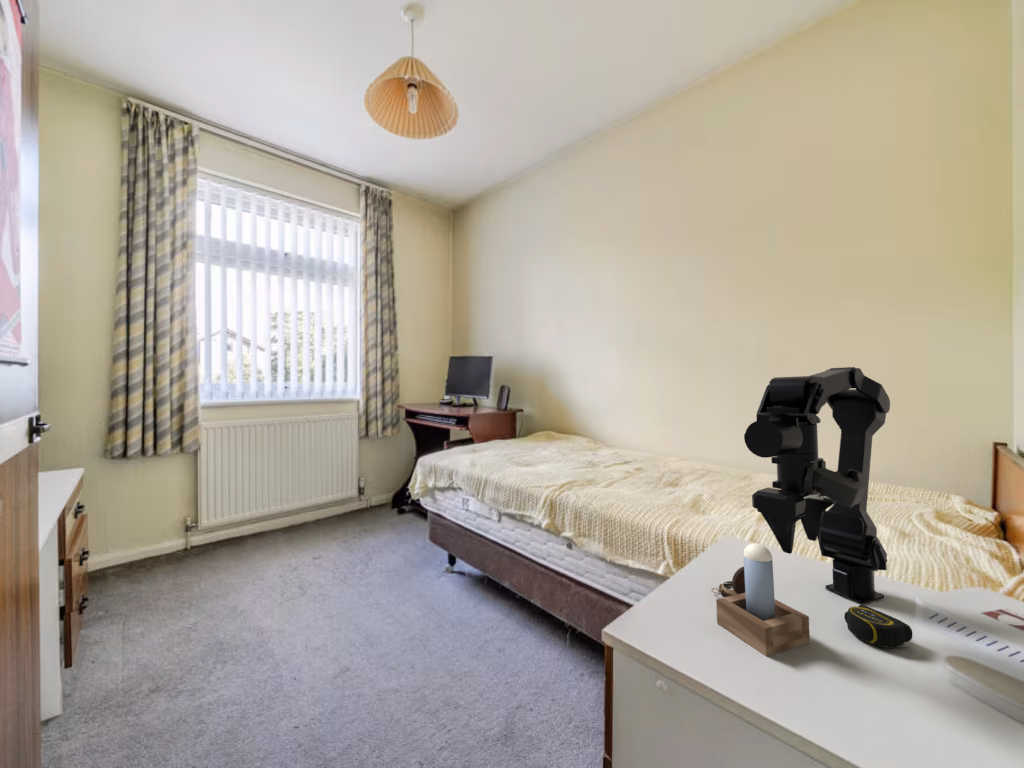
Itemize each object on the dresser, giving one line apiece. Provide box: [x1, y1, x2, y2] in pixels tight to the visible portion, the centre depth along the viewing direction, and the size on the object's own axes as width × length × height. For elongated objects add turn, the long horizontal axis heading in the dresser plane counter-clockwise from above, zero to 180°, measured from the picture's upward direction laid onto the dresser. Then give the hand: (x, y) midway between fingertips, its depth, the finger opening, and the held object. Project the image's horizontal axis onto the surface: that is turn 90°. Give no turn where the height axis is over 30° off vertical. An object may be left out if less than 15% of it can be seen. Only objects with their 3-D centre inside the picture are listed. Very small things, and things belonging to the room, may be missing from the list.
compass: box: [710, 565, 745, 597], centre depth 77 cm, size 8×8×7 cm
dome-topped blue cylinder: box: [743, 543, 776, 621], centre depth 65 cm, size 4×4×13 cm
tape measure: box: [843, 604, 913, 649], centre depth 63 cm, size 7×7×4 cm
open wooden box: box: [716, 593, 811, 657], centre depth 65 cm, size 9×9×4 cm
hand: (800, 546), depth 67 cm, fingers open, 9 cm apart
